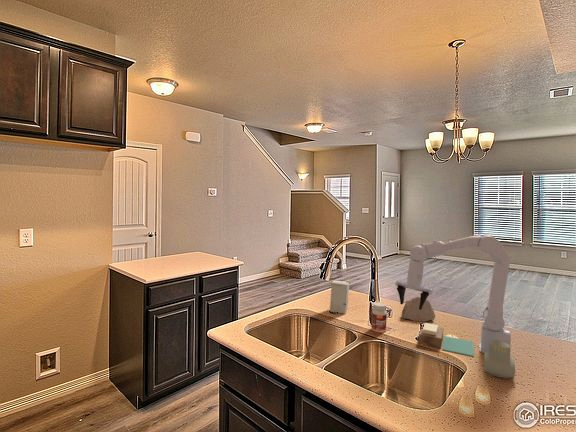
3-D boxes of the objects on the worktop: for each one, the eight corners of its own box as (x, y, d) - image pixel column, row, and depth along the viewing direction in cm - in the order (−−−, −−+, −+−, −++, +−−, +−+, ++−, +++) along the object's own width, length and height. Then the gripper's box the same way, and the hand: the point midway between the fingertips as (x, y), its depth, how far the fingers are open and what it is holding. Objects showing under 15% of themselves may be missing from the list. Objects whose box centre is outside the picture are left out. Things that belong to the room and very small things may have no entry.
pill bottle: (376, 333, 141) (377, 307, 140) (368, 328, 147) (369, 302, 146) (389, 332, 143) (390, 306, 142) (380, 326, 149) (381, 301, 148)
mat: (473, 342, 134) (473, 341, 134) (473, 356, 122) (473, 355, 122) (444, 336, 139) (444, 335, 139) (442, 350, 127) (442, 349, 127)
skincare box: (329, 311, 167) (330, 282, 166) (332, 308, 172) (333, 279, 172) (346, 314, 164) (347, 284, 163) (348, 310, 170) (349, 281, 169)
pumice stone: (401, 319, 158) (402, 299, 158) (400, 314, 165) (401, 294, 165) (436, 323, 154) (437, 302, 153) (434, 318, 161) (434, 297, 161)
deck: (442, 337, 138) (443, 328, 138) (440, 348, 128) (441, 338, 128) (422, 333, 142) (422, 324, 142) (418, 344, 132) (419, 334, 131)
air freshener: (515, 385, 104) (517, 353, 103) (484, 377, 108) (485, 347, 107) (511, 369, 113) (513, 340, 113) (483, 363, 117) (485, 335, 117)
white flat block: (437, 328, 137) (437, 325, 137) (436, 335, 130) (436, 331, 130) (424, 326, 140) (424, 322, 140) (422, 332, 133) (422, 329, 133)
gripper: (394, 272, 139) (390, 303, 140) (431, 280, 131) (426, 314, 132) (400, 269, 145) (396, 299, 146) (435, 277, 136) (431, 309, 137)
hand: (411, 306), depth 139 cm, fingers open, 7 cm apart
